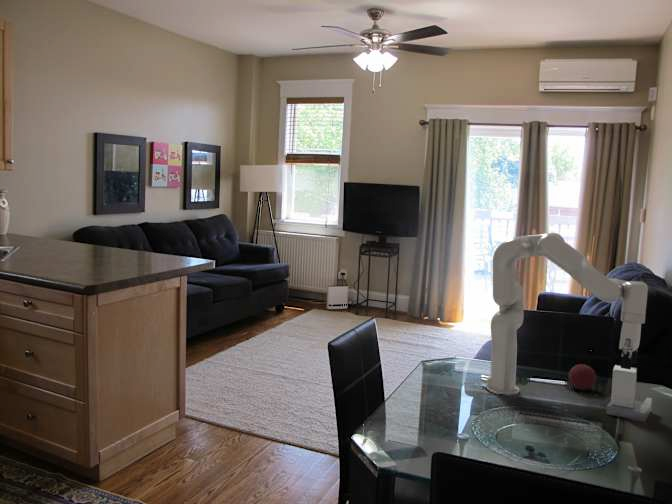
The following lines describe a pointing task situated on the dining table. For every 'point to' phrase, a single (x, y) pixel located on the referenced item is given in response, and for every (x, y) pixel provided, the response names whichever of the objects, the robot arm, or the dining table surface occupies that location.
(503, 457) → the dining table surface
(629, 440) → the dining table surface
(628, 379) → the supplement box
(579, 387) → the decorative ball
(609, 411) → the stand plate
